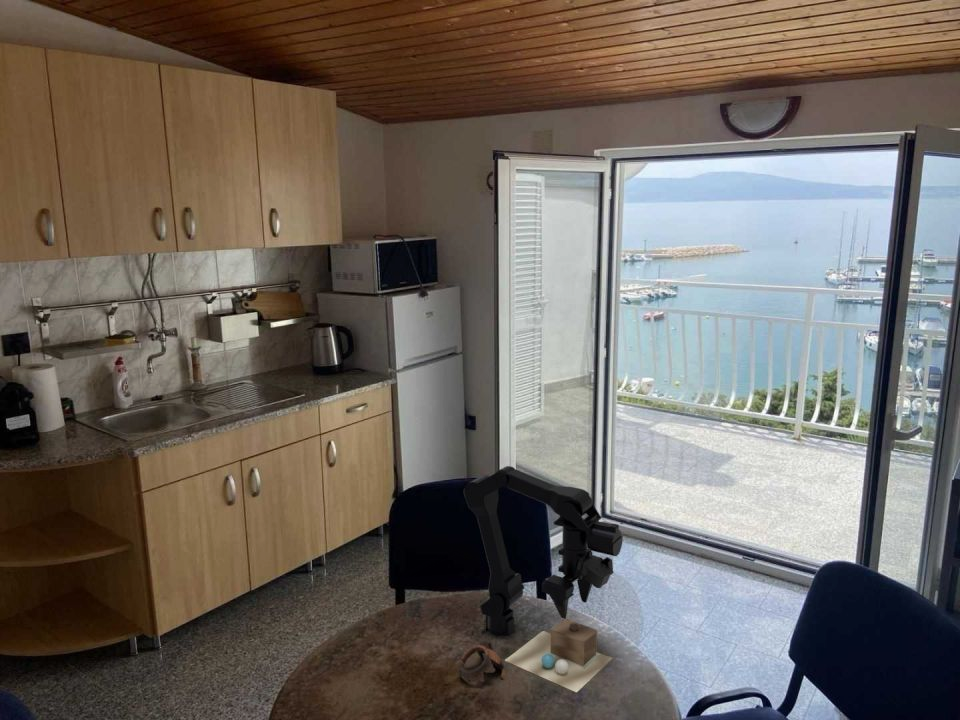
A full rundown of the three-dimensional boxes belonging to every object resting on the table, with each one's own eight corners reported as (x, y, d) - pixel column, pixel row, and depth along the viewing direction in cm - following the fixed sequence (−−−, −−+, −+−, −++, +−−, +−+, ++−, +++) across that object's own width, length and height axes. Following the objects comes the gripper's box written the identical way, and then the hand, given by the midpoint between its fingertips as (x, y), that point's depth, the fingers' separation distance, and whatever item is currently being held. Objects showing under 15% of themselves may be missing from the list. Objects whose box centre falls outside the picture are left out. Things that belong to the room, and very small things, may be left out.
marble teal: (538, 667, 158) (538, 655, 158) (546, 661, 161) (546, 649, 160) (550, 672, 157) (550, 660, 156) (557, 666, 159) (557, 653, 158)
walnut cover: (550, 653, 164) (550, 625, 163) (564, 641, 169) (564, 614, 168) (582, 666, 159) (583, 637, 158) (596, 653, 163) (597, 626, 162)
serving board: (504, 664, 161) (504, 660, 161) (543, 634, 174) (543, 630, 174) (576, 696, 150) (576, 692, 149) (612, 662, 162) (612, 657, 162)
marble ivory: (552, 673, 156) (552, 661, 156) (559, 667, 158) (559, 654, 158) (563, 678, 154) (564, 665, 154) (571, 672, 157) (571, 659, 156)
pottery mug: (509, 693, 152) (492, 667, 149) (471, 706, 154) (453, 682, 151) (509, 649, 163) (493, 625, 160) (473, 662, 165) (456, 638, 162)
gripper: (585, 570, 147) (584, 639, 150) (626, 541, 162) (624, 604, 164) (540, 556, 154) (540, 622, 157) (584, 529, 169) (582, 590, 171)
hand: (574, 609), depth 162 cm, fingers open, 9 cm apart
